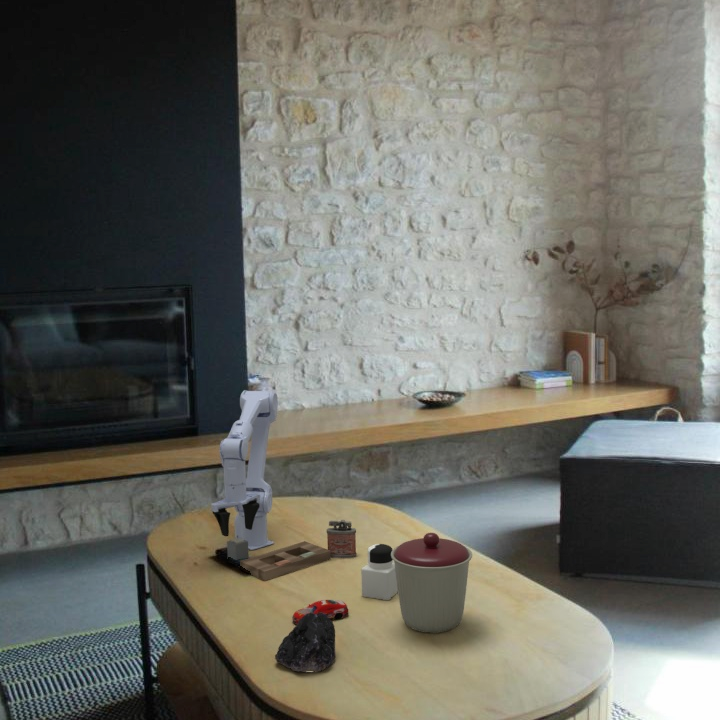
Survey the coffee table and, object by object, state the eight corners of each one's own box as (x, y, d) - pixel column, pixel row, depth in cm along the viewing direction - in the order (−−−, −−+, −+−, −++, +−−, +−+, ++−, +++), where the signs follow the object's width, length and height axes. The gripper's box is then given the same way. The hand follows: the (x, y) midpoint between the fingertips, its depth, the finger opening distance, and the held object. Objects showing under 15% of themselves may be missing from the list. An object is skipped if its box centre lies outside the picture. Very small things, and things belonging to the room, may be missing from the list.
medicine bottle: (399, 590, 233) (399, 543, 232) (388, 601, 227) (387, 552, 225) (373, 586, 236) (372, 540, 235) (361, 596, 230) (360, 549, 228)
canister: (379, 616, 218) (377, 527, 215) (448, 602, 225) (447, 516, 222) (414, 647, 202) (412, 551, 199) (487, 631, 209) (487, 539, 206)
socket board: (239, 570, 250) (239, 559, 249) (305, 549, 264) (304, 540, 264) (265, 581, 242) (264, 570, 241) (330, 559, 256) (330, 549, 256)
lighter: (357, 554, 260) (356, 518, 259) (356, 558, 257) (355, 522, 255) (328, 553, 261) (327, 518, 259) (326, 557, 258) (325, 522, 256)
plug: (227, 562, 255) (227, 539, 255) (240, 559, 258) (239, 536, 257) (236, 566, 252) (235, 543, 252) (248, 562, 255) (247, 539, 254)
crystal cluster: (286, 683, 189) (289, 637, 187) (264, 651, 201) (268, 607, 199) (347, 674, 194) (351, 629, 192) (323, 643, 206) (327, 600, 204)
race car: (296, 629, 213) (296, 612, 212) (289, 620, 218) (288, 604, 217) (351, 619, 218) (350, 602, 217) (342, 610, 223) (342, 594, 222)
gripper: (220, 491, 244) (222, 541, 246) (266, 480, 254) (267, 529, 256) (205, 485, 250) (207, 535, 251) (250, 475, 259) (252, 523, 261)
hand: (237, 532), depth 254 cm, fingers open, 7 cm apart
